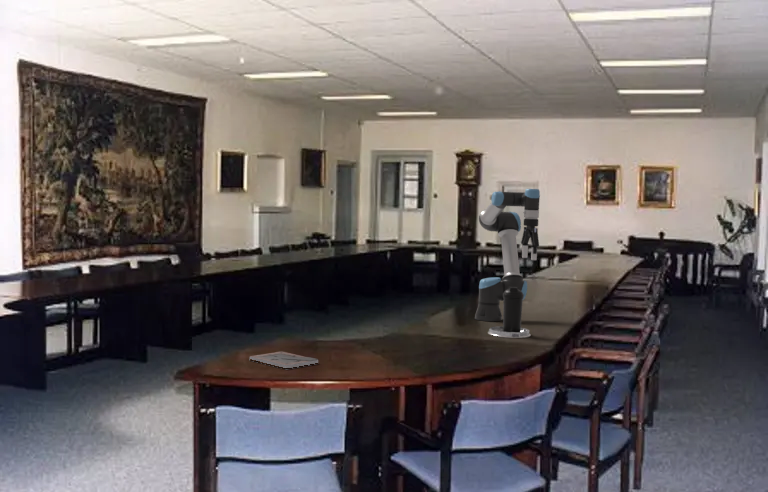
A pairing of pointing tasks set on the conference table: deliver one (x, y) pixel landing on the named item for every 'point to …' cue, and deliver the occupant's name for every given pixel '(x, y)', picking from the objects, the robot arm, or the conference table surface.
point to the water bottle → (512, 309)
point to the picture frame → (284, 359)
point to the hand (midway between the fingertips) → (529, 259)
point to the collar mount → (499, 332)
